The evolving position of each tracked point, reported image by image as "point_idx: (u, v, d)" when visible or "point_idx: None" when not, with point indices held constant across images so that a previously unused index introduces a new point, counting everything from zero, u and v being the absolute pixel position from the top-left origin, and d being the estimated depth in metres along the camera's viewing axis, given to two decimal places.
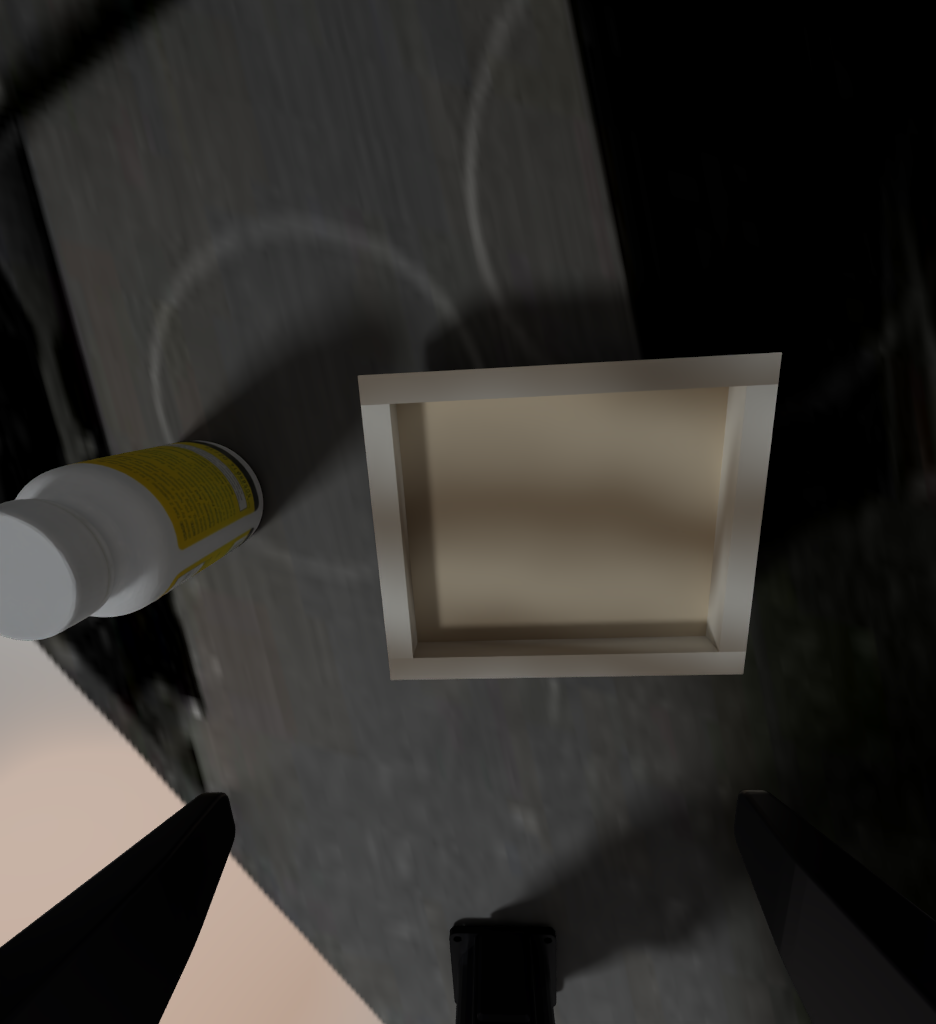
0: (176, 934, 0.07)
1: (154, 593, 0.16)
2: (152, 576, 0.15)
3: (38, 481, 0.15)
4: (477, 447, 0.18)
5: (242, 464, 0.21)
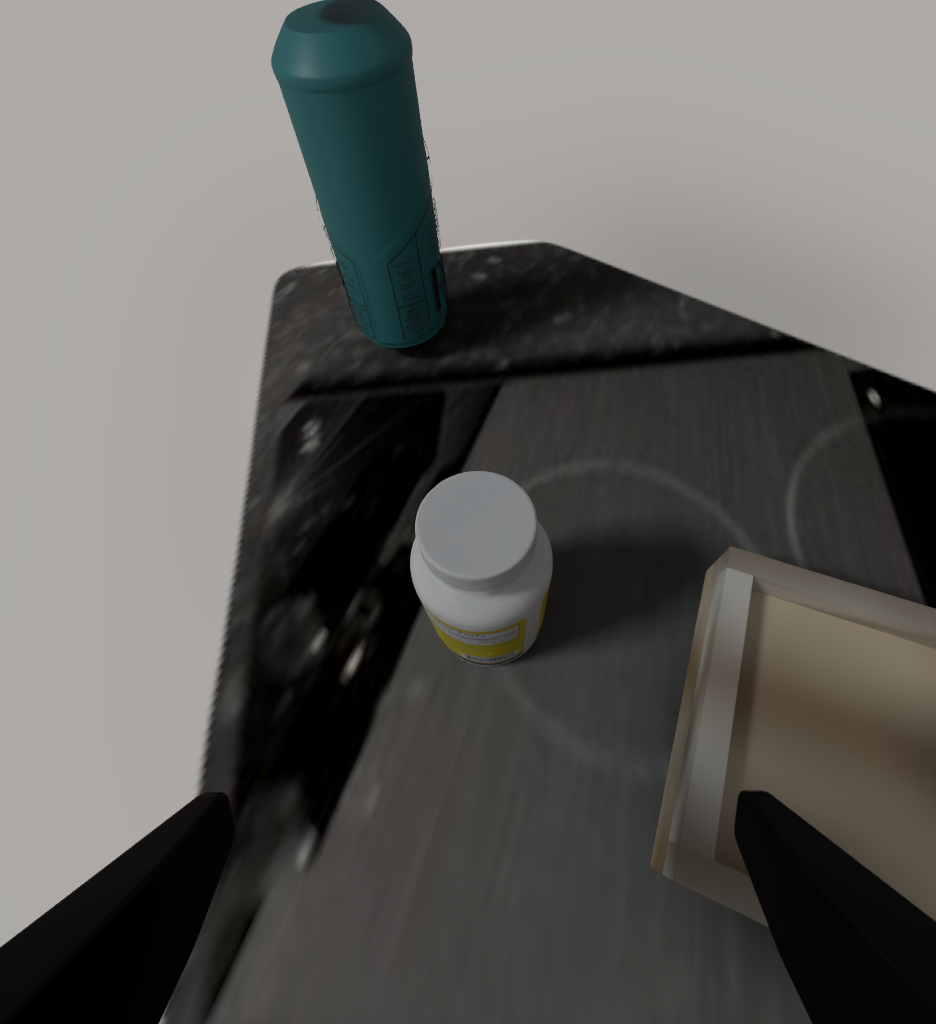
0: (176, 934, 0.07)
1: (512, 615, 0.16)
2: (528, 598, 0.16)
3: None
4: (814, 652, 0.18)
5: None
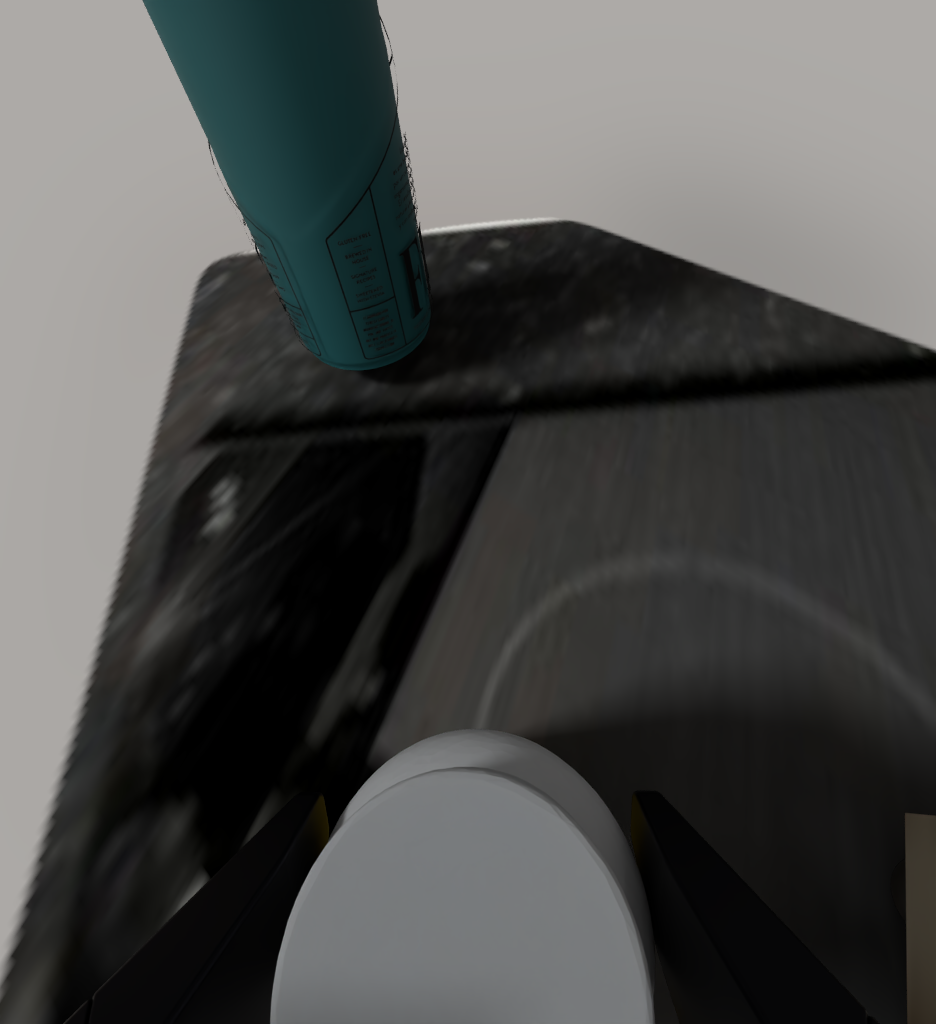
0: None
1: None
2: None
3: (486, 743, 0.08)
4: None
5: None
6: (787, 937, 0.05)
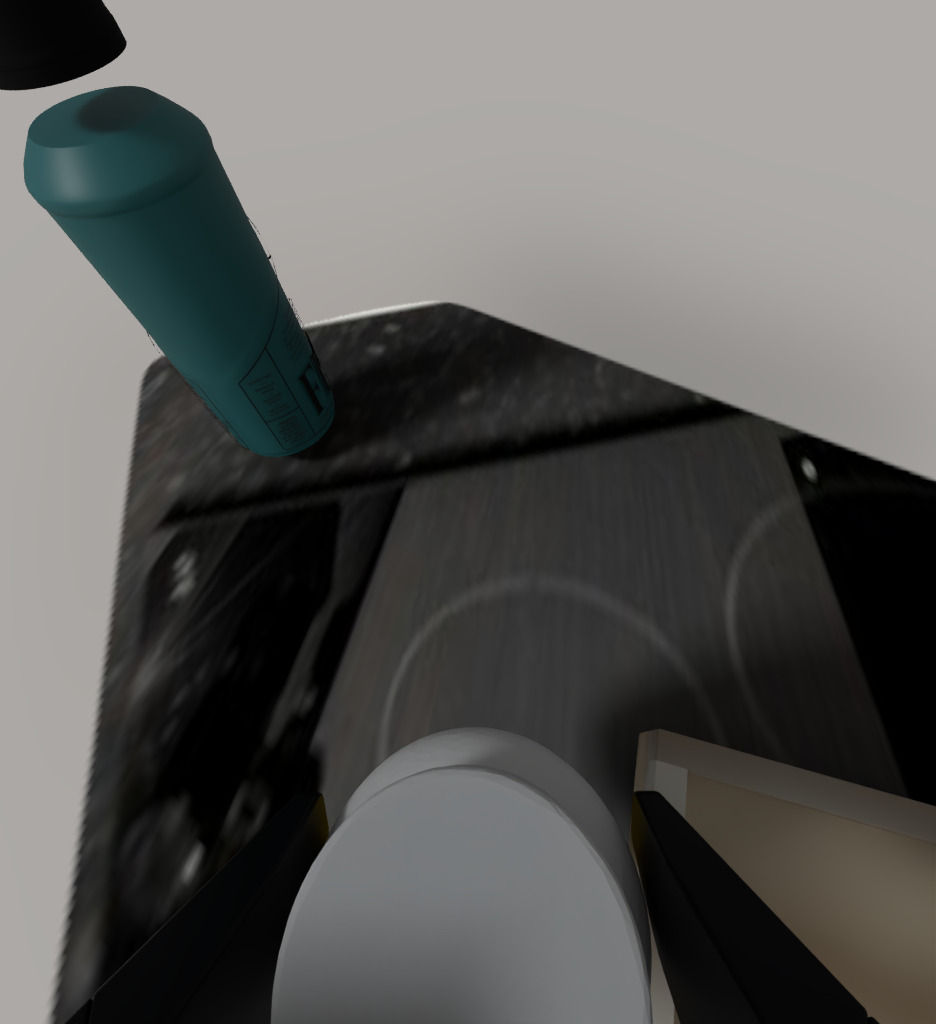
0: None
1: None
2: None
3: (484, 741, 0.08)
4: (766, 857, 0.15)
5: None
6: (787, 937, 0.05)
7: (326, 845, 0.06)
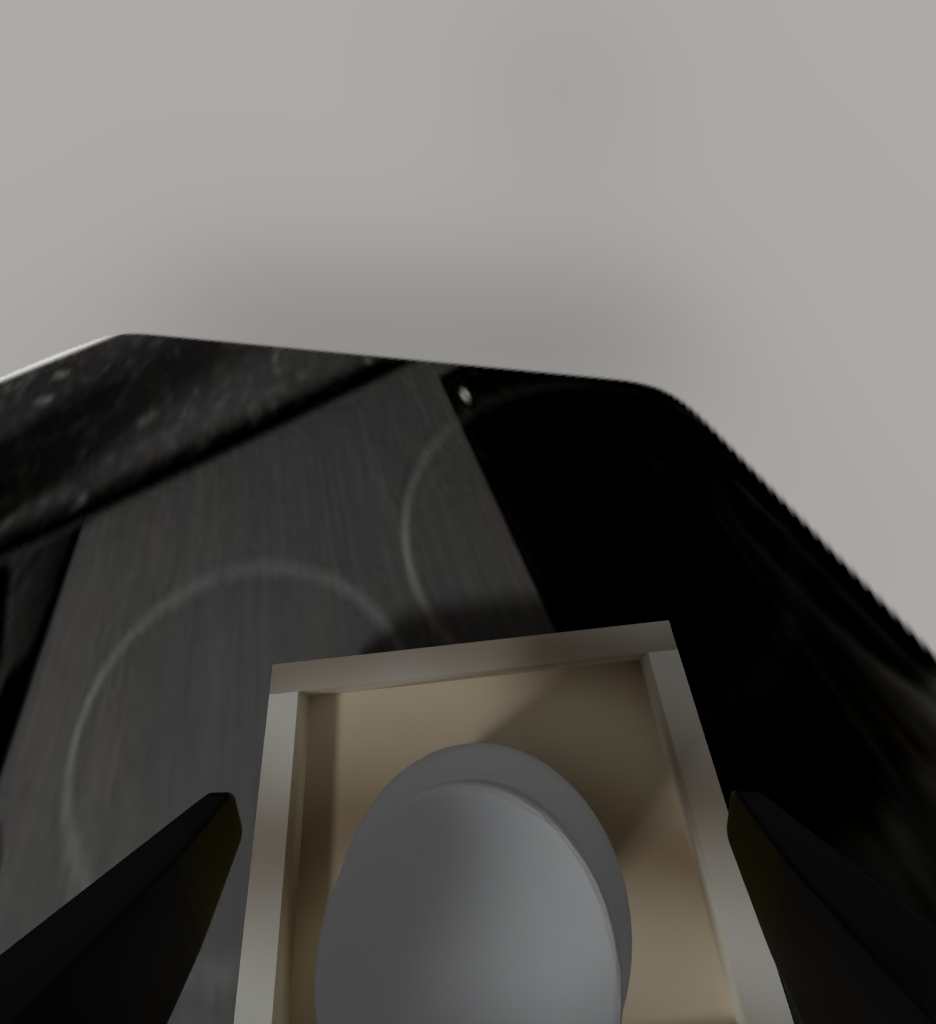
0: (184, 934, 0.07)
1: None
2: None
3: (487, 756, 0.09)
4: (391, 742, 0.16)
5: None
6: None
7: (356, 848, 0.07)
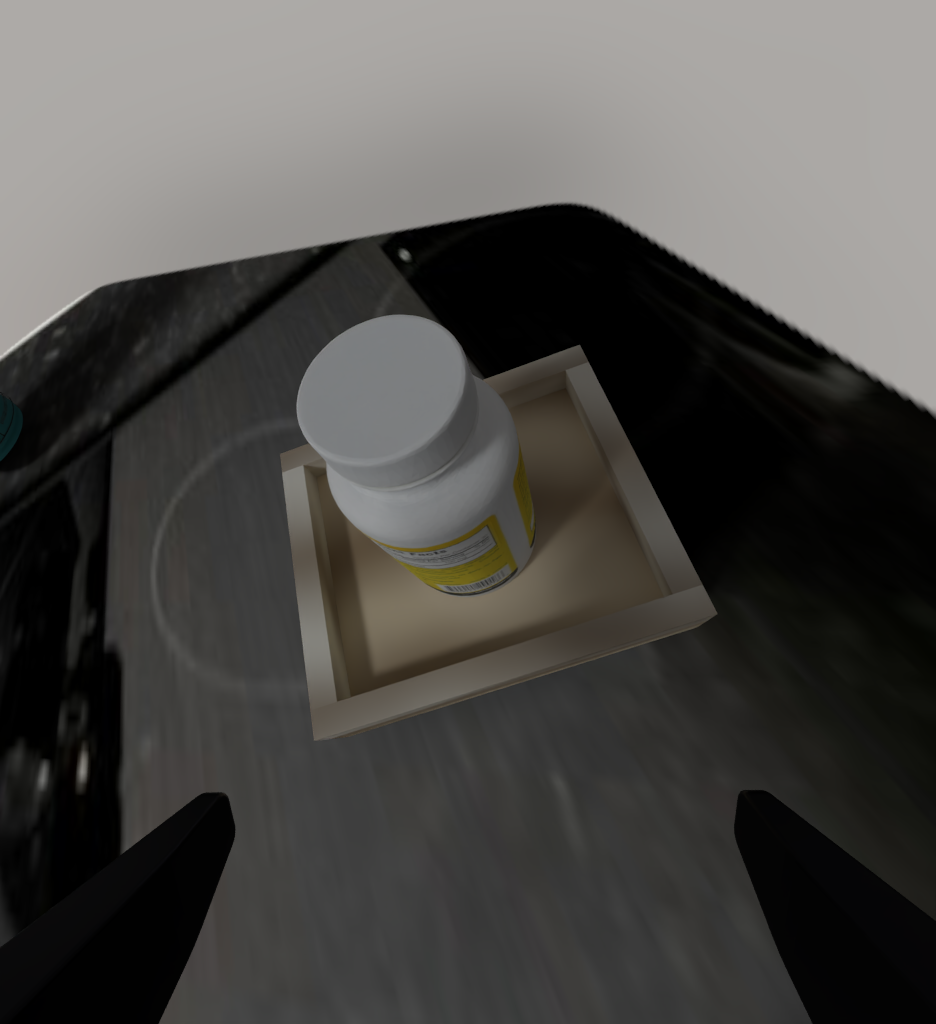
0: (176, 934, 0.07)
1: (470, 512, 0.11)
2: (487, 484, 0.11)
3: None
4: None
5: None
6: None
7: None
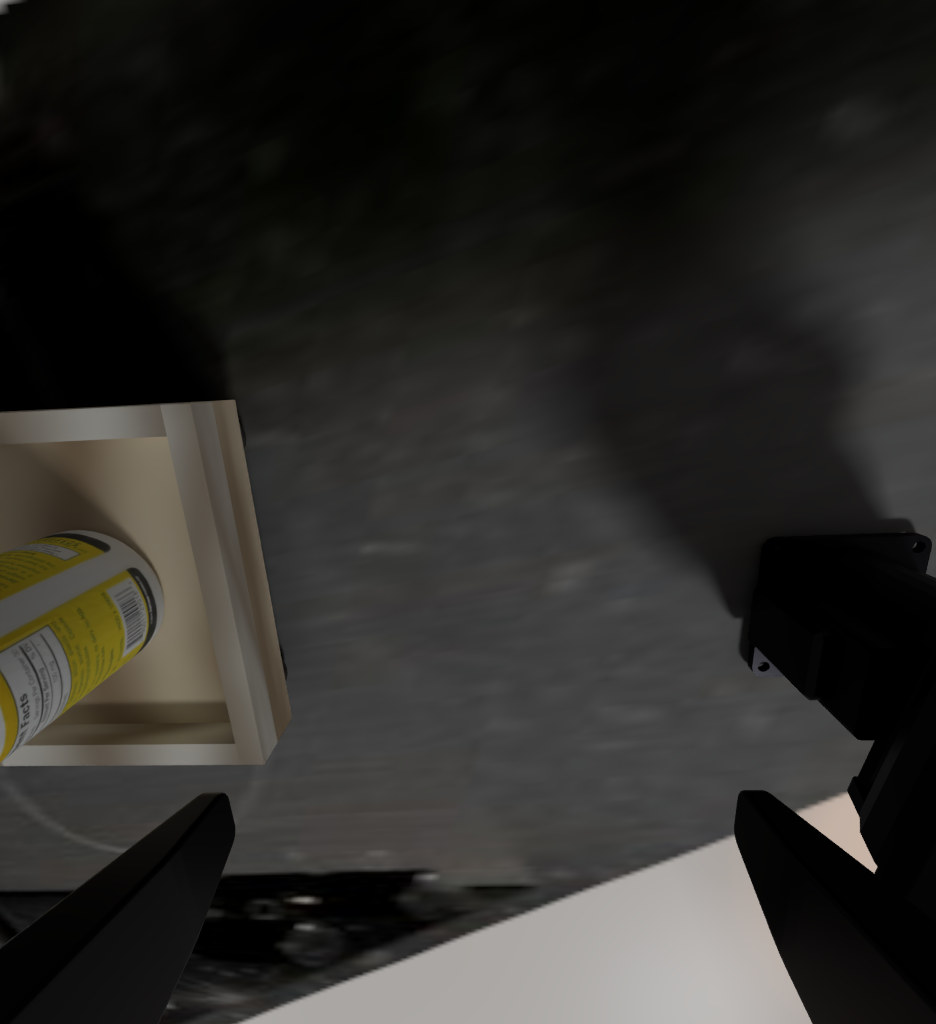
0: (176, 934, 0.07)
1: None
2: None
3: None
4: None
5: (56, 533, 0.17)
6: None
7: None
